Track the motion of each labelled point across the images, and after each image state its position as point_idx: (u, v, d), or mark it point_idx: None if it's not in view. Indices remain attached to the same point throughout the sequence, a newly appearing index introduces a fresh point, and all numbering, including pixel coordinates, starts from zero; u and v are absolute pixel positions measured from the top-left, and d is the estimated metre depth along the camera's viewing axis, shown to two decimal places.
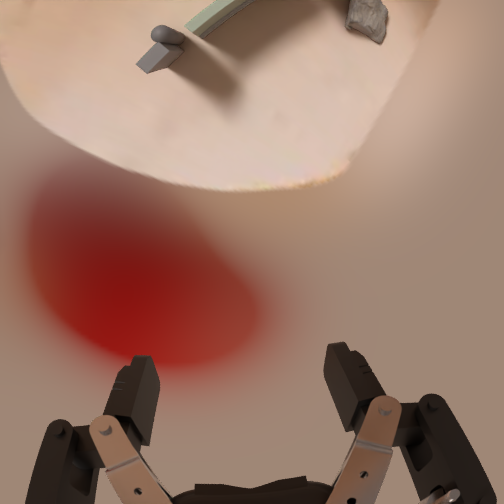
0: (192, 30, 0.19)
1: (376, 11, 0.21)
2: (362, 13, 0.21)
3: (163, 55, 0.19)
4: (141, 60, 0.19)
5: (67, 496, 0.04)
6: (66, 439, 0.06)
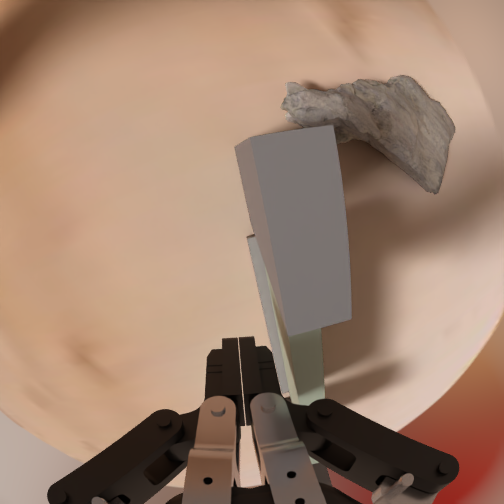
0: None
1: (418, 110, 0.12)
2: (428, 155, 0.12)
3: None
4: None
5: (131, 482, 0.05)
6: (175, 430, 0.07)
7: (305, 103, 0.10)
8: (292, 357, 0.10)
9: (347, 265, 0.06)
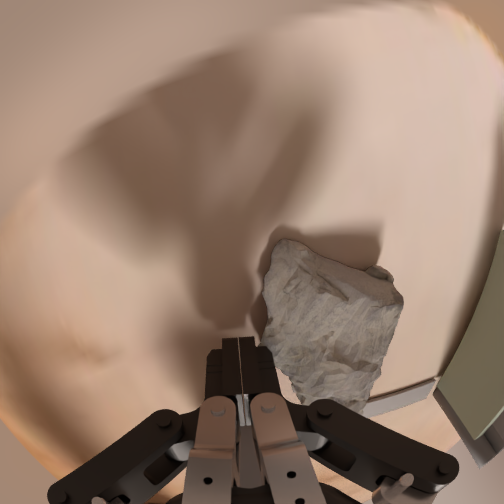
0: (482, 434, 0.11)
1: (307, 348, 0.12)
2: (365, 334, 0.11)
3: None
4: None
5: (131, 482, 0.05)
6: (175, 430, 0.07)
7: None
8: None
9: None
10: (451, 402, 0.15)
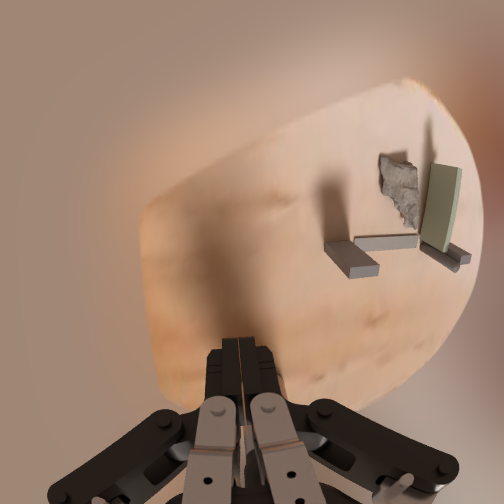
0: (446, 251, 0.37)
1: (396, 185, 0.38)
2: (409, 178, 0.37)
3: (463, 256, 0.35)
4: (467, 262, 0.35)
5: (131, 482, 0.05)
6: (175, 430, 0.07)
7: (416, 225, 0.39)
8: (455, 184, 0.33)
9: (370, 265, 0.33)
10: (427, 242, 0.41)
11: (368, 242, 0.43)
